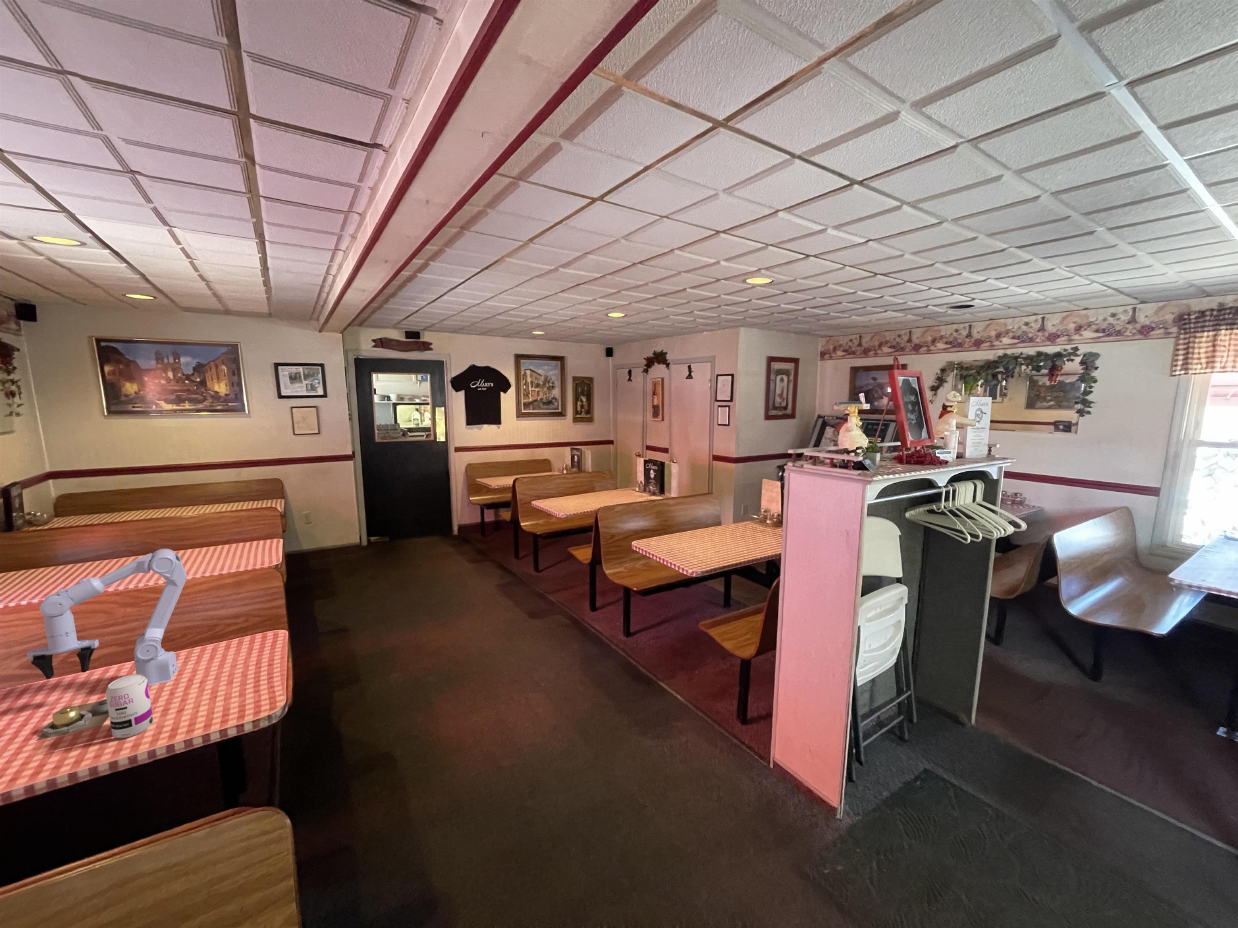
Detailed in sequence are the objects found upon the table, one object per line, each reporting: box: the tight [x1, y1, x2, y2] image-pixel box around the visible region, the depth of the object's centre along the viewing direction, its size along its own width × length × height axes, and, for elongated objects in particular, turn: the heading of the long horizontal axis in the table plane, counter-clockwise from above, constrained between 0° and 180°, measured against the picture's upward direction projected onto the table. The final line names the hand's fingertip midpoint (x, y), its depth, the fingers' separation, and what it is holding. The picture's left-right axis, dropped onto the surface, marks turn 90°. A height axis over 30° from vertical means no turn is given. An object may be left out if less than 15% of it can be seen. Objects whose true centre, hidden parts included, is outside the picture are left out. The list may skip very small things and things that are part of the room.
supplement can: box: [105, 673, 154, 739], centre depth 133 cm, size 8×8×15 cm
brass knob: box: [51, 705, 81, 730], centre depth 135 cm, size 5×5×5 cm
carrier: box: [35, 698, 110, 742], centre depth 139 cm, size 13×16×4 cm
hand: (68, 674), depth 144 cm, fingers open, 7 cm apart
